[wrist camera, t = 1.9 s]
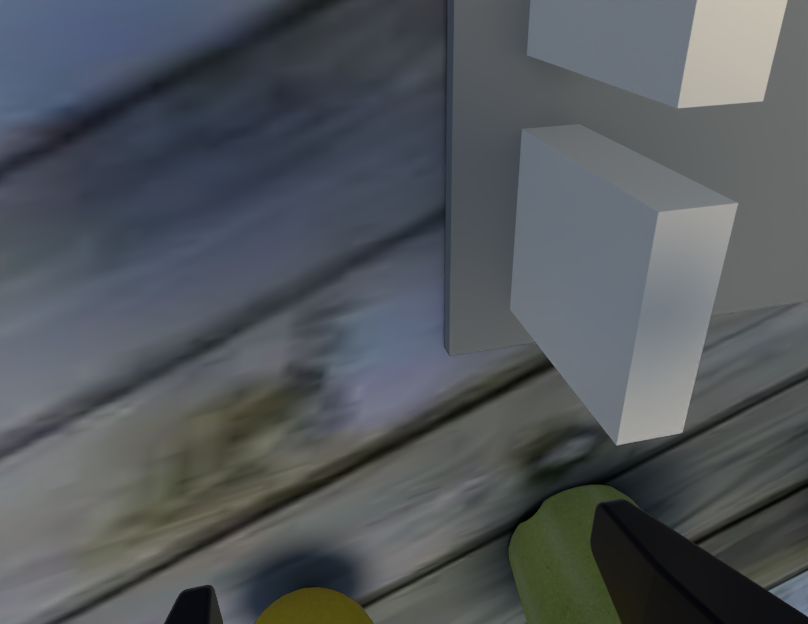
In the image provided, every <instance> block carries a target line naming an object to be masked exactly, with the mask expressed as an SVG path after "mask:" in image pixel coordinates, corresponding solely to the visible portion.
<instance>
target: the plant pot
mask: <svg viewBox="0 0 808 624" xmlns="http://www.w3.org/2000/svg"><path fill="white" fill-rule="evenodd" d="M618 498H622V499H625V500H628V501H629V502H631V503H633V504H634V505H636V506H637V504H636V503H635V502H634V501H633V500H632V499H630V498H629V497H628V496H626V495H625V494H623V493H621V492H620V491H618V490H616V489H614V488H613V487H610V486H607V485H585V486H579V487H575V488H572V489H568V490H565V491H562V492H560V493H558V494H556V495H554V496H552V497H550V498H548V499H547V500H545V501H544V502H543V503H542V505H541V507H540V508H539V510H538V511H537V512H536V513H535V514H534V515H533V516H532V517H531V518H530V519H528V520H527V521H525V522H522V523H520V524H519V525H518V526H517V528H516V530H515V531H514V533H513V535H512V538H511V540H510V544H509V561H510V565H511V568H512V572H513V575H514V579H515V583H516V586H517V590H518V593H519V596H520V599H521V603H522V607H523V610H524V614H525V617H526V621H527V624H621V621H620V619H619V616H618V614H617V612H616V609H615V607H614V605H613V602H612V600H611V597H610V595H609V593H608V590H607V588H606V585H605V583H604V581H603V578H602V576H601V574H600V571H599V569H598V566H597V564H596V562H595V559H594V557H593V554H592V551H591V546H590V537H591V531H592V525H593V519H594V513H595V509H596V506H597V505H598V504H599V503H600V502H603V501H608V500H613V499H618ZM637 507H638V506H637Z"/></svg>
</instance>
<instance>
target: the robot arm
mask: <svg viewBox="0 0 808 624" xmlns="http://www.w3.org/2000/svg"><path fill="white" fill-rule="evenodd" d="M590 546H591V551H592V554H593V557H594V559H595V562H596V564H597V566H598V569H599V571H600V574H601V576H602V578H603V581H604V583H605V585H606V588H607V590H608V593H609V595H610V597H611V600H612V602H613V605H614V607H615V609H616V612H617V614H618V616H619V619H620V621H621V624H808V617H807V616H806V615H804V614H803V613H801V612H800V611H798V610H796V609H795V608H793V607H792V606H790V605H789V604H787V603H786V602H784V601H783V600H781V599H779V598H778V597H776V596H775V595H773V594H772V593H770V592H769V591H767V590H766V589H764V588H762V587H761V586H759V585H758V584H756V583H755V582H753V581H752V580H750V579H749V578H747V577H745V576H744V575H742V574H741V573H739V572H738V571H736V570H735V569H733V568H732V567H730V566H728V565H727V564H725V563H724V562H722V561H721V560H719V559H718V558H716V557H715V556H713V555H711V554H710V553H708V552H707V551H705V550H704V549H702V548H701V547H699V546H698V545H696V544H694V543H693V542H691V541H690V540H688V539H687V538H685V537H684V536H682V535H681V534H679V533H677V532H676V531H674V530H673V529H671V528H670V527H668V526H667V525H665V524H663V523H662V522H660V521H659V520H657V519H656V518H654V517H653V516H651V515H650V514H648V513H646V512H645V511H643V510H642V509H640V508H639V507H637V506H636V505H634V504H633V503H631V502H629V501H628V500H625V499H622V498H618V499H613V500H608V501H603V502H600V503H599V504H598V505H597V506H596V509H595V513H594V519H593V525H592V531H591V537H590ZM164 624H223V621H222V617H221V613H220V609H219V605H218V601H217V597H216V593H215V590H214V588H213V587H212V586H211V585H204V586H200V587H195V588H190V589H186V590H184V591H182V592H181V593H180V594H179V596H178V598H177V599H176V601H175V603H174V605H173V607H172V609H171V611H170V613H169V615H168V617H167V619H166V621H165V623H164Z"/></svg>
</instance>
